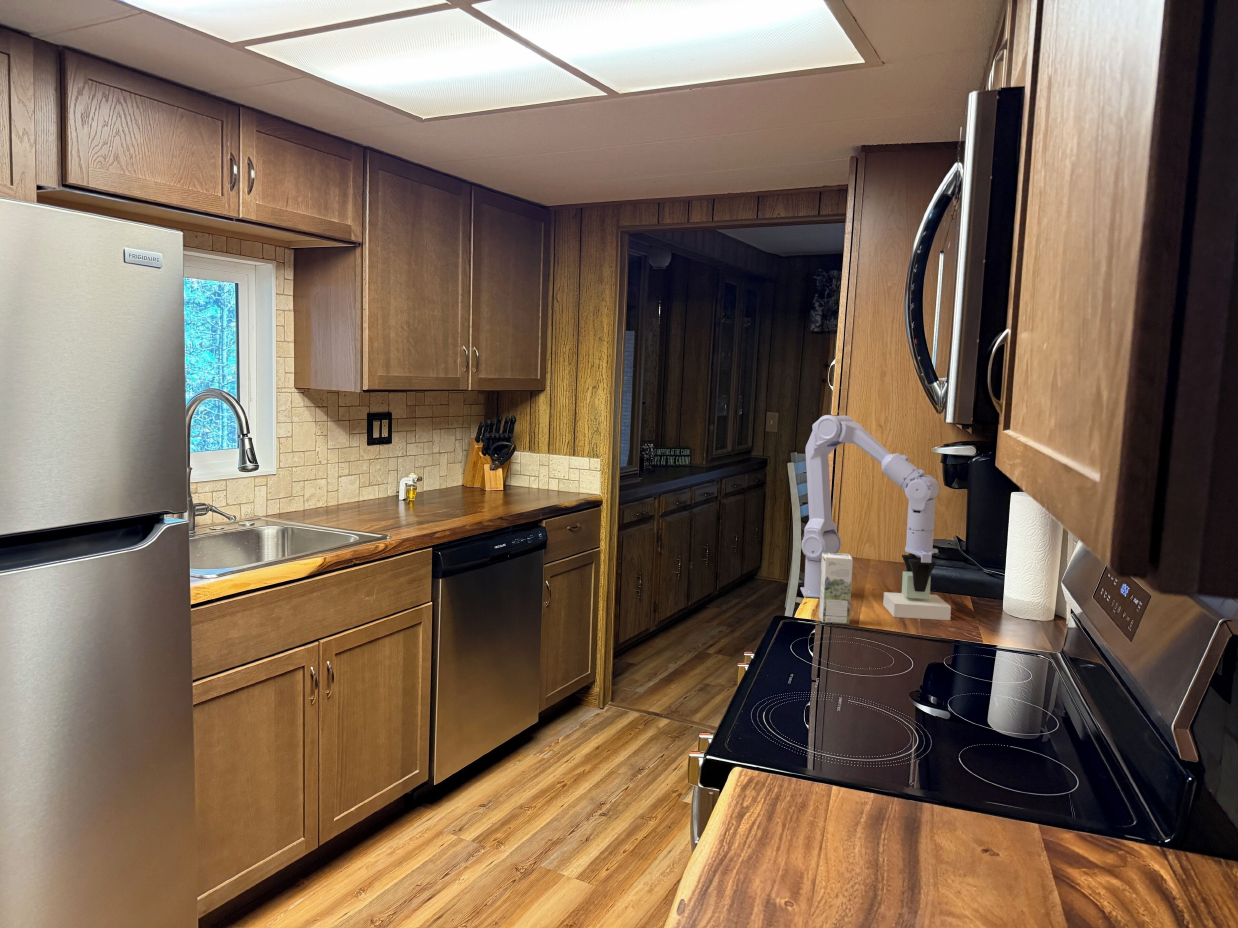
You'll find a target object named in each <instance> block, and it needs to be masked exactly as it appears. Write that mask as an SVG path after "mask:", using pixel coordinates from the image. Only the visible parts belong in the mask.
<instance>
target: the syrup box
mask: <svg viewBox="0 0 1238 928" xmlns="http://www.w3.org/2000/svg"><path fill="white" fill-rule="evenodd" d="M853 565H854V559H853V557H852V556H851V555H850V554H849V553H838V552H837V553H822V563H821V583H820V598H819V605H818V617H819V620H820V621H821V622H822V624H831V623H832V624H833V625H834V624H835V625H850V616H851V615H850V614H851V600H852V599H851V598H852V597H851V595H852V580H853V579H852V578H853ZM832 624H831V625H832Z"/></svg>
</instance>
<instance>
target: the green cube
mask: <svg viewBox="0 0 1238 928" xmlns="http://www.w3.org/2000/svg"><path fill="white" fill-rule="evenodd" d="M901 578H902V581H901V593H902V594H903V595H904V596H905V597H906V598H924V599H930V595H931V579H932V577H931V575H930V577H929V580H928V583H927V587H926V590H925V592H918V591H915V589H914V583H913V573H912V572H907V571H902V577H901Z"/></svg>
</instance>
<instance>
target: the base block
mask: <svg viewBox="0 0 1238 928" xmlns="http://www.w3.org/2000/svg"><path fill="white" fill-rule="evenodd" d="M882 602H883V603H882V605H883V606H884V607H885V609H886V610H887V611H888V612H889V613H890V614H891V616H892V617H893V618H902V619H903V618H905V619H920V620H921V619H922V620H937V621H939V620H941V621H951V615H952V614H951V613H952V612H951V611H952V606H951V605H949V604H948V603H947V602H946V601H945V600H944V599H942V598H941V597H940V596H939V595H937V594H930V599H924V598H906V597H905V596H904V595H903V594H902V592H886V591H884V592H883V601H882Z"/></svg>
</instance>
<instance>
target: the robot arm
mask: <svg viewBox="0 0 1238 928" xmlns="http://www.w3.org/2000/svg"><path fill="white" fill-rule="evenodd" d="M811 428H812V431H811V433H810V436H809V439H808V441H807V443H806V445H805V449H804V450H805V463H806V464H805V465H806V468H805V469H806V482H807V483H806V484H807V500H808V501H807V503H808V522H807V523H806V525H805V527H804V529H803V532H804V533H803V535H804V536H803V539H802V541H801V545H800V547H801V551H802V553H803V555H804V556H805V560H804V561H805V562H804V564H805V565H804V581H803V582H804V583H803V584H804V585H803V586H801V587H800V588H799V589H800V591H801V594H802V595H803V597H804V598H819V599H820V583H821V563H822V553H838V552H839V551H840V549H841V547H842V540H841V537H840V535H839V534H838V533H839V532H838V531H837V530H838V528H837V524H836V523H835V522H834V520H833V515H832V498H831V483H830V481H831V479H830V477H831V476H830V464H829V463H830V462H829V460H830V459H829V455H830V454H831V453H833V451H834V450H835V449H836V448H837V447H838V446H840V445H841V444H844V443H846V444H847V443H848V444H852V445H853V444H854V445H855V446H857V447H858V448H859V449H860V450H862V451H863V452H864V453H866V454H868V455H869V456H870V457H871V458H872V459H873V460H875V461H876V462H878V463H879V464H880V465H881V472H882V473H883V474H884V475H885V476H886V477H887V478H889V480H891V481H892V482H893V483H894V484H896V485H897V486H898V487H899V488H900V489H901V490H904V495H905V497H906V498H907V499H908V506H907V507H908V508H907V519H906V522H907V523H906V540H905V541H906V542H905V547H904V552H906V553H908V554H901V558H902V560H903V563H904V566H905V569H906V572H912V573H913V583H914V589H915V591H918V592H925V590H926V587H927V583H928V580H929V577H930V576H931V574H932V572H933V570H934V569H935V567H936V565H937V562H935V561H932V556H933V554H938V553H939V549H938V548H933V547H934V534H935V533H934V532H935V531H934V530H935V516H936V515H935V514H936V509H935V506H936V498H937V497H938V496H939V493H940V484H939V482H938V481H937V480H936V479H935V477H934V476H932V475H929V474H925V470H923V469H919V468H918V467H916V466H915V465H914V464H913V463H911V462H910V461H909V459H910V458H909V456H907V455H906V454H901V453H899V452H898V453H892V452H890V451H888V449H887V448H885V447H884V445H882V444H881V443H880V442H879V441H878V440H877V439H875V438H874V437H873V436H872V435H871V434H870V433H869V432H868V431H867V430H866V429H865V428H864V427H863V425H861V424H860V423H858V422H857V421H854V420H853V418H851V417H850V416H848V415H831V414H825V415H822V416H821V417H820V418H819V419H818V420H816V421H815V422H814V423H813V424H812V427H811ZM808 591H809V593H808Z"/></svg>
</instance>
